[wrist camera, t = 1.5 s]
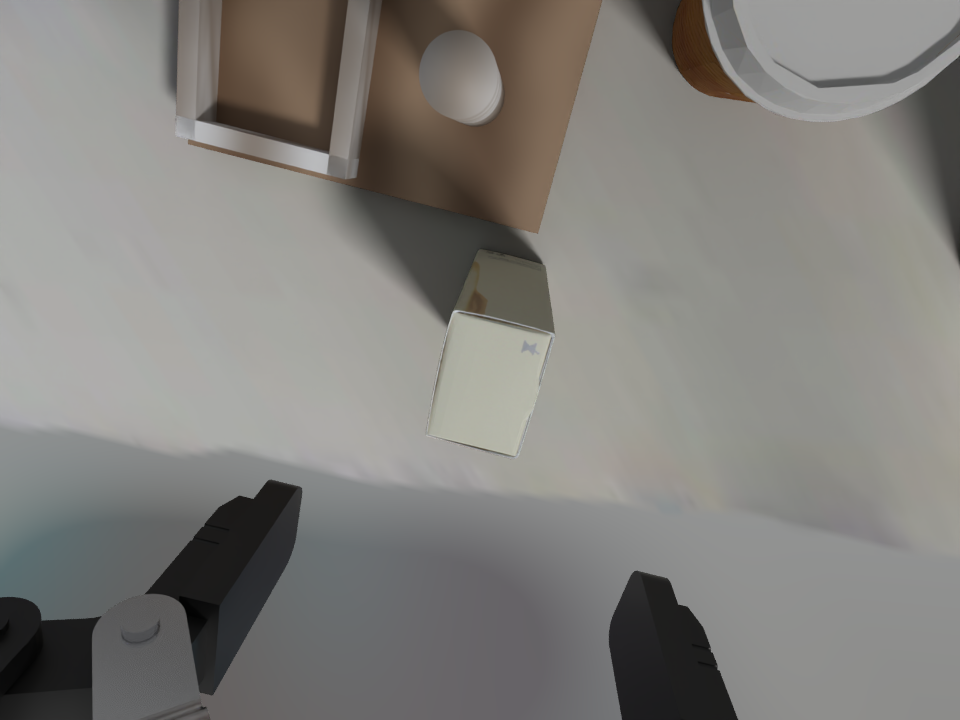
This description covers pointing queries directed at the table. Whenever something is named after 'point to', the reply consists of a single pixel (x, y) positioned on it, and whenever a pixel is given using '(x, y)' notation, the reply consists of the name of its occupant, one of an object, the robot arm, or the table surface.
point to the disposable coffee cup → (815, 52)
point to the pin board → (391, 93)
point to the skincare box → (493, 356)
